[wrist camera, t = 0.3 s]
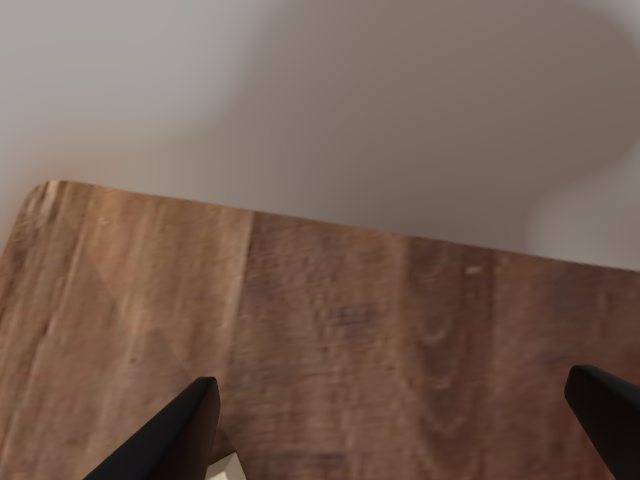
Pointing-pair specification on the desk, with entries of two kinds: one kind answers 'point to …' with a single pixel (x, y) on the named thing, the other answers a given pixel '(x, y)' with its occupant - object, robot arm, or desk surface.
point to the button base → (226, 469)
